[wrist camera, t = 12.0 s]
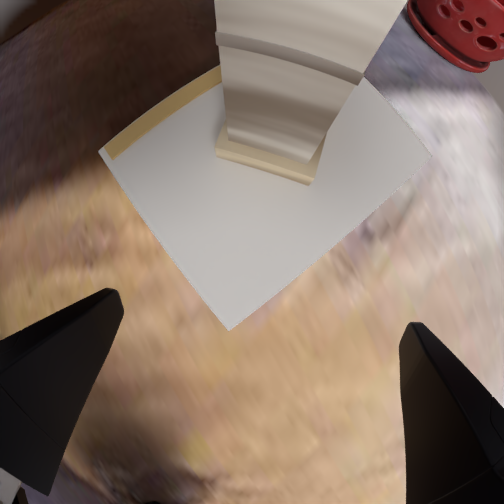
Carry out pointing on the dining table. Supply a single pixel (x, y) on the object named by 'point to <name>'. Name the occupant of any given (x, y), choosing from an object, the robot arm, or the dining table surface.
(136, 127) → the white rectangular slab
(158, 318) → the dining table surface
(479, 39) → the plant pot
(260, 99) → the white stepped pillar
